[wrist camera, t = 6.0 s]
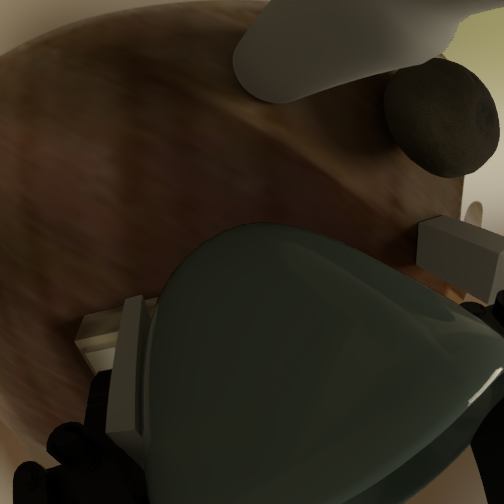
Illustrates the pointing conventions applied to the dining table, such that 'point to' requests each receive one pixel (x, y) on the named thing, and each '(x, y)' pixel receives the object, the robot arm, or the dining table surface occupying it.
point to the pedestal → (102, 336)
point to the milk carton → (462, 256)
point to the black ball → (442, 117)
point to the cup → (307, 375)
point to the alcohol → (342, 42)
